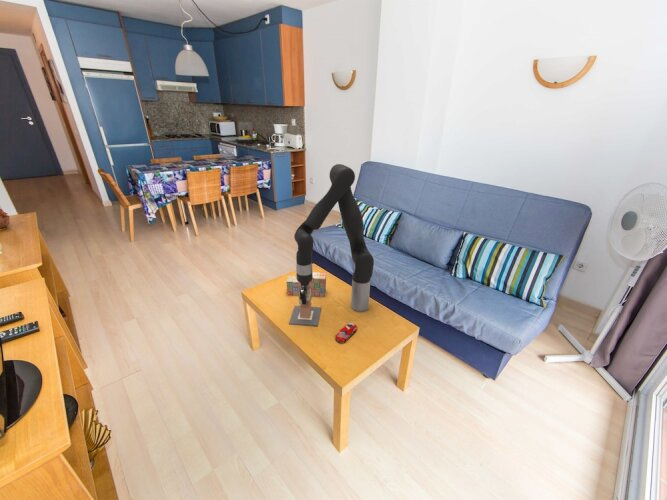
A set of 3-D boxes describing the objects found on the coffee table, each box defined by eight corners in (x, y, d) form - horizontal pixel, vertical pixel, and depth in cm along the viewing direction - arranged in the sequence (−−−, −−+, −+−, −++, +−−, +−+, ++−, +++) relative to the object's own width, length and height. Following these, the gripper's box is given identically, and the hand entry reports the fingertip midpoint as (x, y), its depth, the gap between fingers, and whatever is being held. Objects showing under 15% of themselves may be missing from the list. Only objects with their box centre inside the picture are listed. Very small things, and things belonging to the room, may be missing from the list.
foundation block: (311, 312, 153) (311, 302, 150) (309, 318, 148) (309, 308, 145) (301, 311, 153) (301, 301, 150) (299, 317, 149) (299, 307, 146)
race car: (342, 345, 134) (342, 339, 132) (332, 340, 137) (332, 333, 135) (358, 330, 143) (359, 323, 141) (349, 325, 146) (350, 318, 144)
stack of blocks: (287, 295, 167) (285, 276, 161) (289, 289, 172) (288, 271, 167) (325, 297, 166) (325, 278, 161) (326, 290, 172) (326, 272, 166)
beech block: (310, 299, 149) (310, 288, 146) (309, 305, 145) (309, 294, 142) (300, 298, 149) (300, 288, 147) (299, 304, 145) (298, 294, 142)
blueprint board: (321, 308, 157) (321, 307, 156) (317, 326, 144) (317, 325, 144) (294, 306, 158) (294, 305, 157) (289, 324, 145) (289, 322, 145)
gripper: (309, 279, 132) (310, 310, 140) (314, 263, 145) (314, 292, 153) (293, 278, 133) (294, 309, 141) (299, 262, 146) (300, 291, 153)
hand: (305, 300), depth 147 cm, fingers closed on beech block, 5 cm apart
